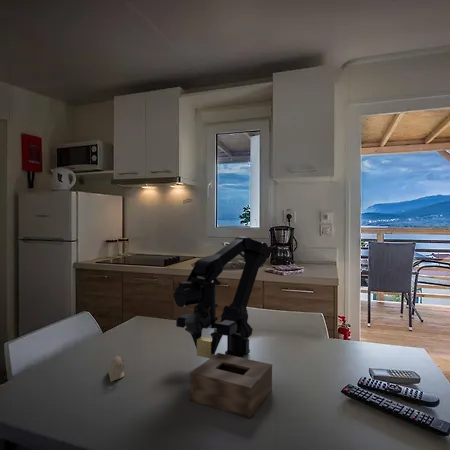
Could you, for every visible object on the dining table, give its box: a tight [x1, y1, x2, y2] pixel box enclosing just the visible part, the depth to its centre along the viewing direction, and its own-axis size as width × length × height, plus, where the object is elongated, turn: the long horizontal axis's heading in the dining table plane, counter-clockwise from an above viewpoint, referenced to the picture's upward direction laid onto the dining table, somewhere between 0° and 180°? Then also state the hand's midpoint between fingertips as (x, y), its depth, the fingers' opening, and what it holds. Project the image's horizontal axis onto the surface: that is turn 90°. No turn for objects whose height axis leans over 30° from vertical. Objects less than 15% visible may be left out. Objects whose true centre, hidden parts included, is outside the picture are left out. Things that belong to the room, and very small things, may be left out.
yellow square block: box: [196, 336, 216, 359], centre depth 102 cm, size 5×2×5 cm, turn 62°
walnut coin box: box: [190, 352, 273, 419], centre depth 85 cm, size 16×14×7 cm
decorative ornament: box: [107, 355, 126, 383], centre depth 95 cm, size 4×8×5 cm, turn 24°
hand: (205, 352), depth 102 cm, fingers closed on yellow square block, 5 cm apart
